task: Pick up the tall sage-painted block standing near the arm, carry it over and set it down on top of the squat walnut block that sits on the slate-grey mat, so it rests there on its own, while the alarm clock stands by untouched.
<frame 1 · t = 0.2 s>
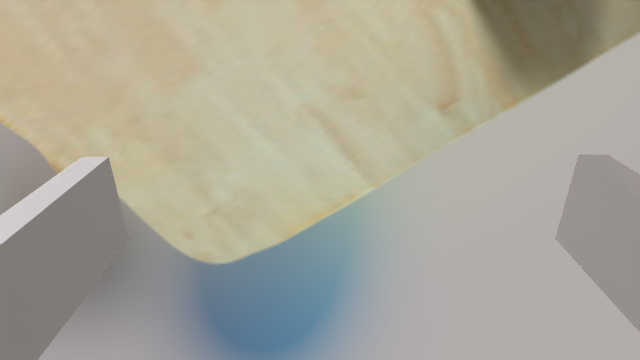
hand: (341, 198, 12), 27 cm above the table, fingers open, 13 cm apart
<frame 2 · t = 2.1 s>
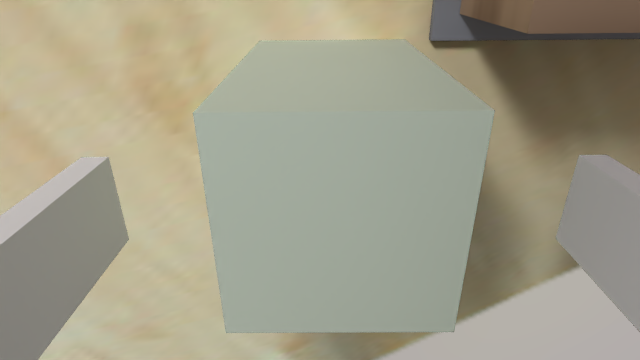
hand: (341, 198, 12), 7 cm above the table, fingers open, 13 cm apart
sage block: (331, 110, 19), on the table
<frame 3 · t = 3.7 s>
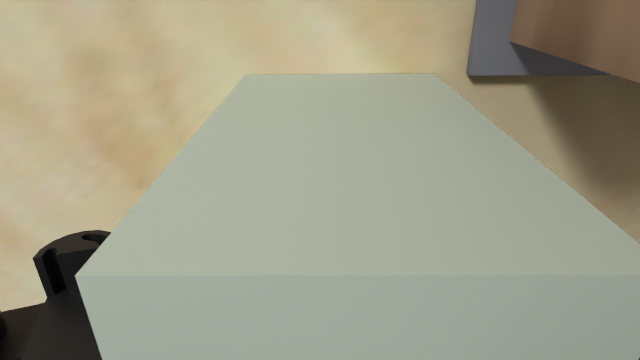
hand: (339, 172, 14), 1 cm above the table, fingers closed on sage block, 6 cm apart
sage block: (338, 161, 14), on the table, touching gripper
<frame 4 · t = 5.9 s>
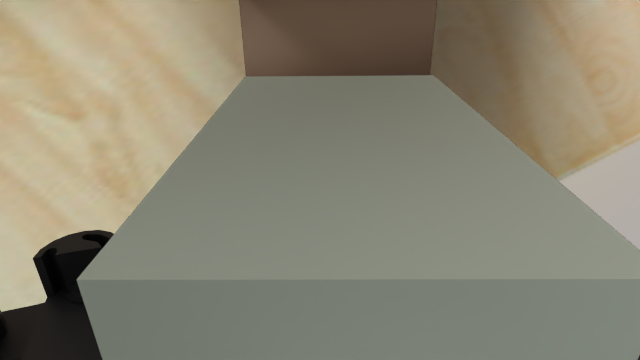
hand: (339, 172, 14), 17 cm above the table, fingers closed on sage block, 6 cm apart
sage block: (338, 162, 14), point 16 cm above the table, touching gripper
walnut block: (335, 68, 28), resting on slate mat
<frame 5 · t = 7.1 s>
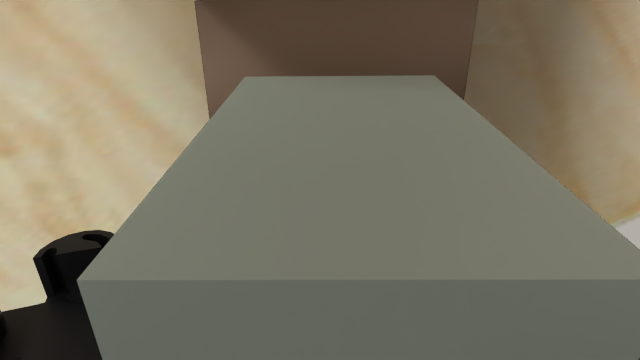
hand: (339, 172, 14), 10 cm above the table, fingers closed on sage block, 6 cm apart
sage block: (338, 162, 14), point 9 cm above the table, touching gripper
walnut block: (332, 96, 22), resting on slate mat
when the fingers open (9 cm above the table, at t = 8.0 s): sage block drops 1 cm, resting on walnut block.
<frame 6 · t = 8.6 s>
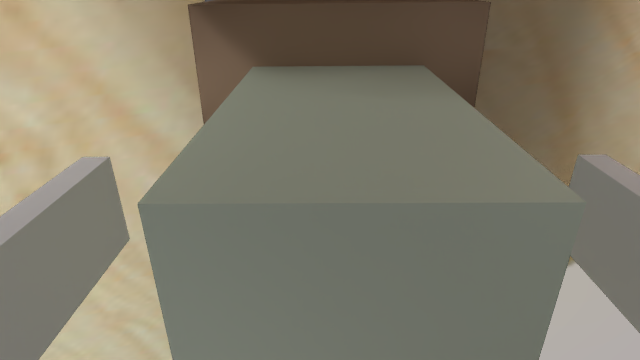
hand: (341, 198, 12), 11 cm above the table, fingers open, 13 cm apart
sage block: (337, 146, 16), point 6 cm above the table, touching walnut block
walnut block: (333, 103, 21), resting on slate mat, touching sage block
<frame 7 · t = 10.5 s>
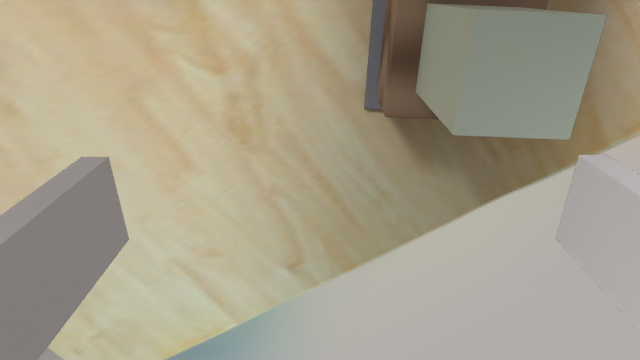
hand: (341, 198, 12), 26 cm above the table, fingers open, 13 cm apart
slate mat: (441, 40, 35), on the table
sage block: (463, 51, 29), point 6 cm above the table, touching walnut block
walnut block: (442, 41, 35), resting on slate mat, touching sage block
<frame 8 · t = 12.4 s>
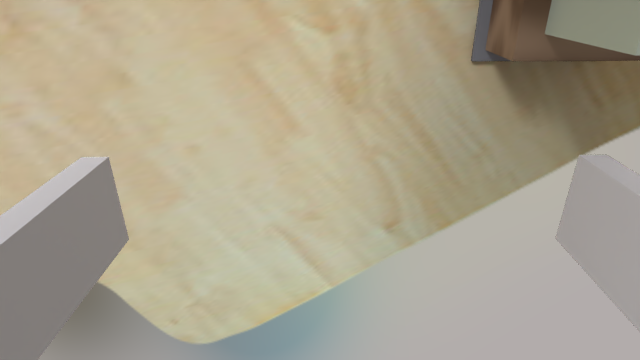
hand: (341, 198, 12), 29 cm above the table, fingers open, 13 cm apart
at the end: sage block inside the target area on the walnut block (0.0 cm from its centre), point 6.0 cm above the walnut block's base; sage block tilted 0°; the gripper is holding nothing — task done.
